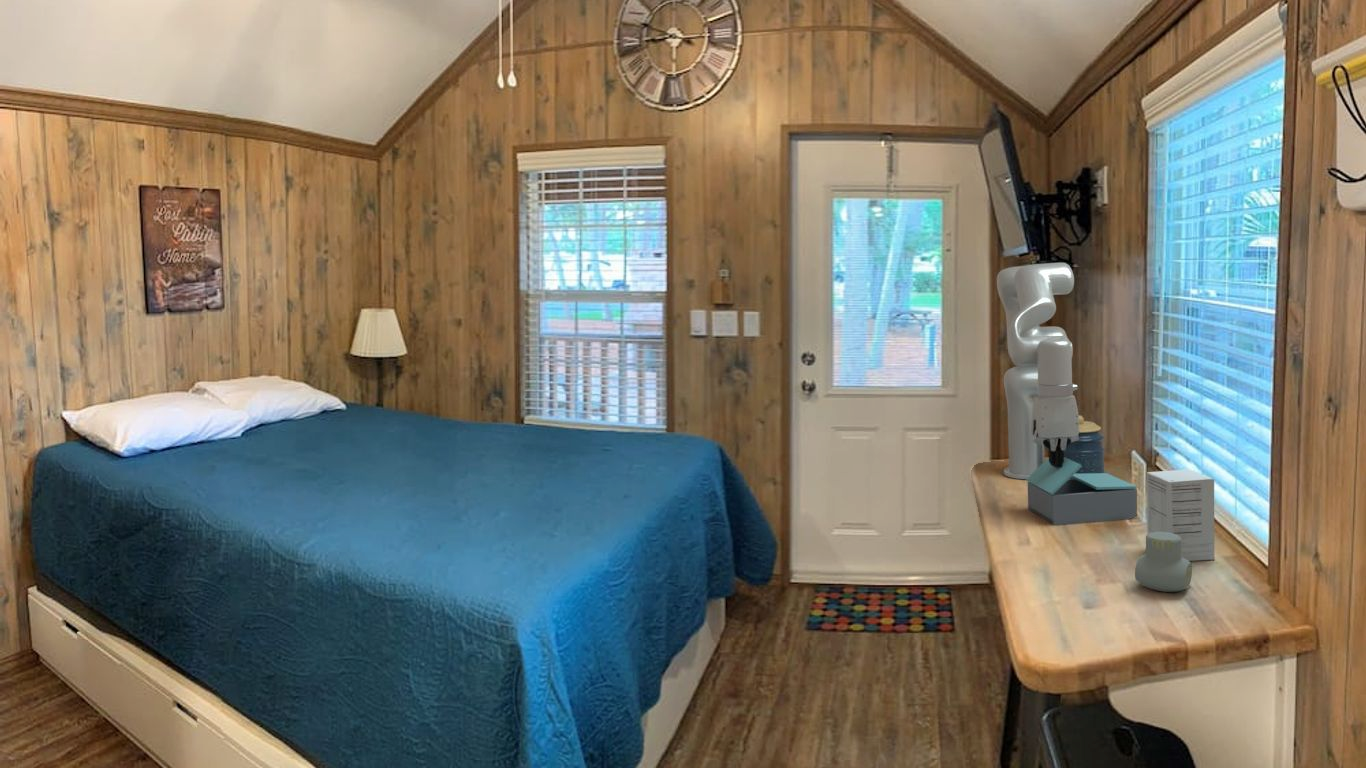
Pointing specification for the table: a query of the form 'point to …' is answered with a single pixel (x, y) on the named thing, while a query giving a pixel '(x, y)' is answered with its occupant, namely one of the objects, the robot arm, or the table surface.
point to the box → (1082, 503)
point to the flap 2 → (1103, 481)
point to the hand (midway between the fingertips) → (1056, 465)
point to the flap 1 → (1053, 475)
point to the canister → (1087, 448)
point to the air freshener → (1163, 564)
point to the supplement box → (1183, 510)
